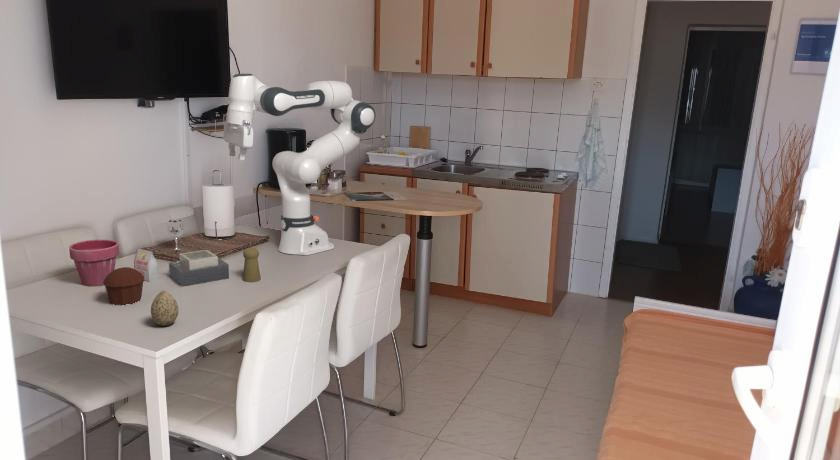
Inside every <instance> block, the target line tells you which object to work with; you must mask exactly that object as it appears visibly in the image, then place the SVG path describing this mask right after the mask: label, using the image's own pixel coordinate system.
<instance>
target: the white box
mask: <svg viewBox="0 0 840 460" xmlns="http://www.w3.org/2000/svg"><path fill="white" fill-rule="evenodd" d="M133 269H135V270H137V271H139V272H140V273H141V274H142V275H143V276H144V281H143V282H148V283H150V282H153V281H157V280H159V272H158V271H159V269H158V262H157V260H156V258H155V256H154V253H153V251H149V250H145V249H141V248H137V249H136V253H135V256H134V259H133Z"/></svg>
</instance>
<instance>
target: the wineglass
mask: <svg viewBox="0 0 840 460" xmlns="http://www.w3.org/2000/svg"><path fill="white" fill-rule="evenodd" d="M184 231H185V229H184V224H183V220H181V219H179V218H178V219H170V220H168V222H167V233H168V235H169V236H170V237H173V238H174V241H175V248H174V250H180V249H181V248H178V240H179V239H178V237H179V238H180V236H182V235H183V234H184Z"/></svg>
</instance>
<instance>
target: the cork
mask: <svg viewBox="0 0 840 460" xmlns="http://www.w3.org/2000/svg"><path fill="white" fill-rule="evenodd" d="M242 256H243V258H244V264H243V265H244V266H243V273H242V281H243V282H245V283H257V282H259V281H261V279H262V277H261V271H260V266H259V261H258V258H259V256H260V252H259V250H258V249H257V248H255V247H248V248H245V249H243V252H242Z"/></svg>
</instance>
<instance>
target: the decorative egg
mask: <svg viewBox="0 0 840 460" xmlns="http://www.w3.org/2000/svg"><path fill="white" fill-rule="evenodd" d="M178 315H179V305H178V302H177V300H176V299H175V297H174V296H173V295H172V294H171V293H170V292H168V291H166V290H162V291H160V292H158V294H157V295H156V296H155V297H154V298H153V300H152V302H151V307H150V316H151V318H152V320H153V321H154V322H155V324H157V325H158V326H164V327H165V326H169V325H172V324H173V323H174V322H175V321H176V320H177V318H178Z"/></svg>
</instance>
